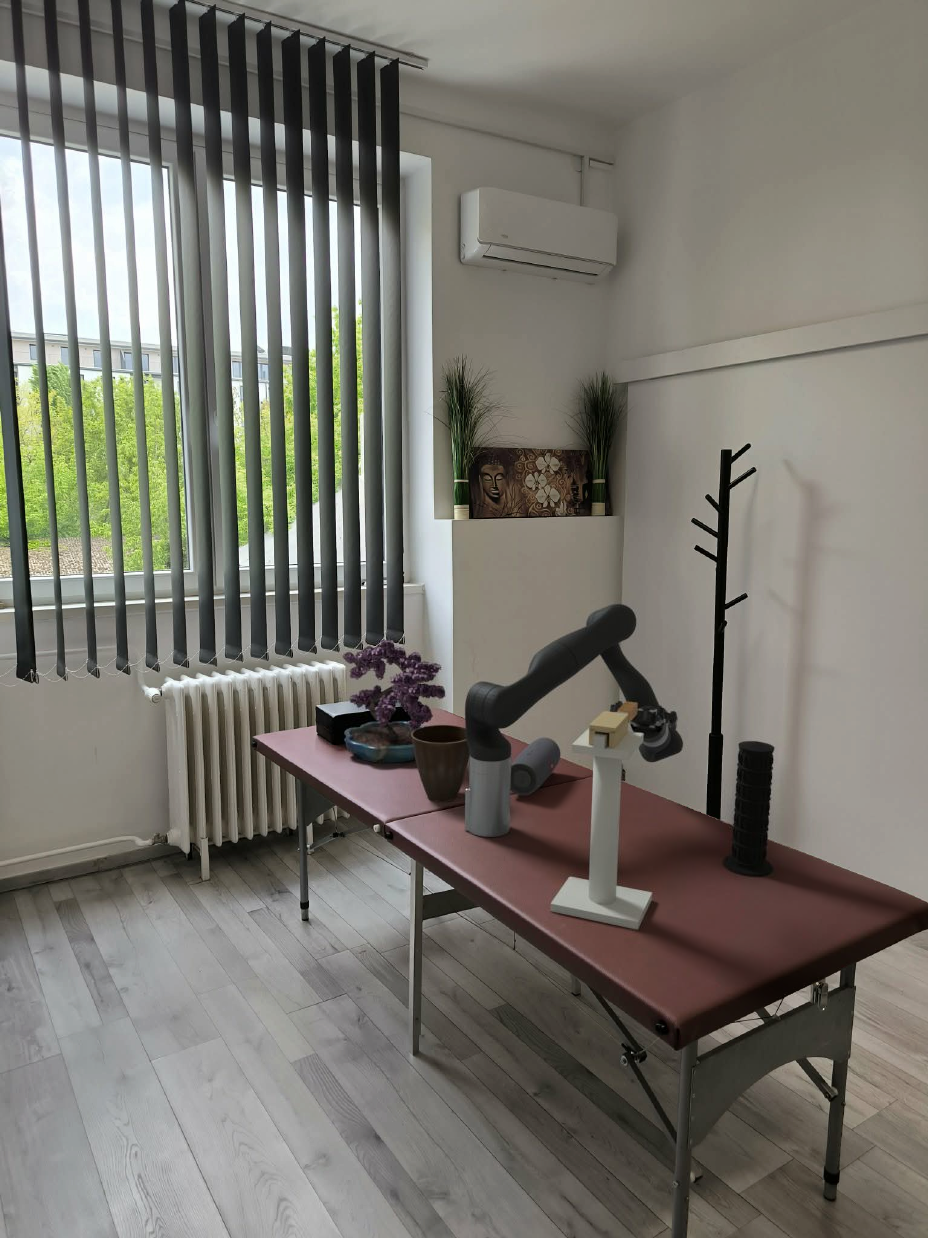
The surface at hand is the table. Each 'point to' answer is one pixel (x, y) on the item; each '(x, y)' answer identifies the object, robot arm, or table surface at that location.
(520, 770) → the bluetooth speaker
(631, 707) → the grey orange square rod
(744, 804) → the handle grip
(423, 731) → the plant pot
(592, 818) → the stand
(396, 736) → the bonsai tree
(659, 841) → the table surface
